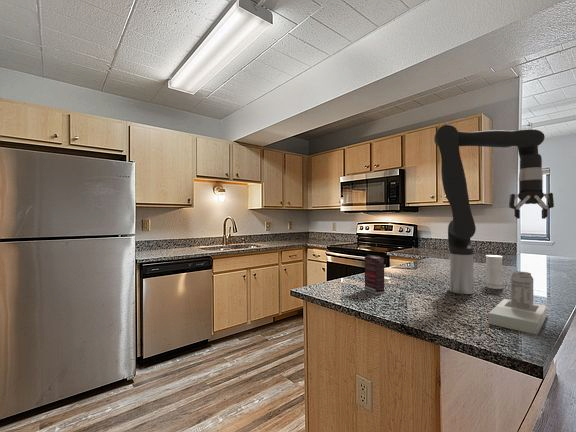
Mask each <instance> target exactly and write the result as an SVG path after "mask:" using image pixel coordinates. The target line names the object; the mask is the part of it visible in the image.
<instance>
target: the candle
mask: <svg viewBox="0 0 576 432" xmlns="http://www.w3.org/2000/svg"><path fill="white" fill-rule="evenodd" d="M485 258H486V259H485V260H486V261H485V262H486V263H485V264H486V265H485V268H484V269H485V275H484V276H485V283H486V284H487V285H486V288H488V289H494V290H501V289H502V285H504V283H503V281H504V280H503V278H504V268H503V258H504V256H503V255H495V254H494V255H493V254H486V255H485Z"/></svg>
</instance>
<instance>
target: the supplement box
mask: <svg viewBox="0 0 576 432" xmlns="http://www.w3.org/2000/svg"><path fill="white" fill-rule="evenodd" d="M364 290H365V291H367V292H369V293H373V294H375V295H380V294H381V295H382V294H385V257H380V256H375V255H365V256H364Z"/></svg>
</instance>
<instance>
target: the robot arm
mask: <svg viewBox="0 0 576 432" xmlns="http://www.w3.org/2000/svg"><path fill="white" fill-rule="evenodd" d="M433 140H434V144H435V145H436V146H437V147H438V148H439V154H440V158H441V159H440V160H441V165H440V166H441V168H440V169H441V181H442V187H443V192H444V195H445V197H446V199H447V201H448V203H449V206H450V210H451V213H452V214H451V215H452V220H451V221H450V222H449V223H448V225H447V241H448V244H447V245H448V249H449V270H448V271H449V272H448V273H449V275H448V277H449V281H448V283H449V285H448V286H449V287H448V289H449V291H450V293H454V294H458V295H459V294H461V295H472V294H474V290H475V289H474V282H475V281H474V247H473V246H472V243H471V242H472V241H471V238H473V237H474V235H475V234H476V231H477V227H476V224H475V220H474V217H473V213H472V210H471V206H470V197H469V192H468V183H467V178H466V173H465V169H464V165H463V160H462V157H461V153H460V147H487V148H510V147H517V149H518V156H519V173H518V175H519V176H518V187H519V188H518V189H519V190H518V194H515V193H512V194H510V195H509V203H508V209H513V210H514V211H513V212H514V217H515V219H516V220H517V219H521V217H520V215H521V212H520V211H521V210H520V208H522V206H524V205H530V204H531V205H538V206H539V207H541V219H545V220H546V219H547V218H548V216H549V214H548V213H549V212H548V210H549V209H553V208H554V207H555V203H554V193H552V192H547V193H544V192H543V184H544V183H543V182H544V181H543V179H544V177H543V174H544V173H543V167H542V166H543V165H542V164H543V161H542V158H543V157H542V155H541V154H540V153H539V146H540V145H541V144H542V143H543V142H544V141H545V134H544V133H543V131H541V130H539V129H532V128H530V129H529V128H528V129H527V128H526V129H518V130H517V129H516V130H506V129H505V130H498V129H497V130H496V129H493V130H490V129H489V130H480V131H461V130H460V131H459V130H458V129H457V128H456V127H455V126H454V125H452V124H443V125H442V126H440V127H439V128H438V129H437V131H436V132H435V134H434V139H433ZM517 198H518V199H519V202H518V203H517V204H516V205H515V200H517ZM543 198H545V199H546V200H547V202H546V203H547V204H546V203H545V202H544V201H543Z"/></svg>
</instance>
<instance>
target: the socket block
mask: <svg viewBox="0 0 576 432" xmlns="http://www.w3.org/2000/svg"><path fill="white" fill-rule="evenodd" d="M547 309H548V306H547V305H543V304H537V303H533V311H528V310H523V309H517V308H512V307H511V299H508V298H507V299H506V298H504V299H502V300H501V301H500V302H499V303H498V304H497V305H496V306H494V307H493V308H492V309H491V310H490V311H489V312H488V324H489V325H493V326H498V327H502V328H507V329H511V330H514V331H515V330H516V331H519V332H524V333H528V334H532V335H537V336H538V334H539V333H540V330H541V329H542V327H543V324H544V322H545V321H546V319H547V317H548V314H547V313H548V312H547V311H548V310H547Z"/></svg>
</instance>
